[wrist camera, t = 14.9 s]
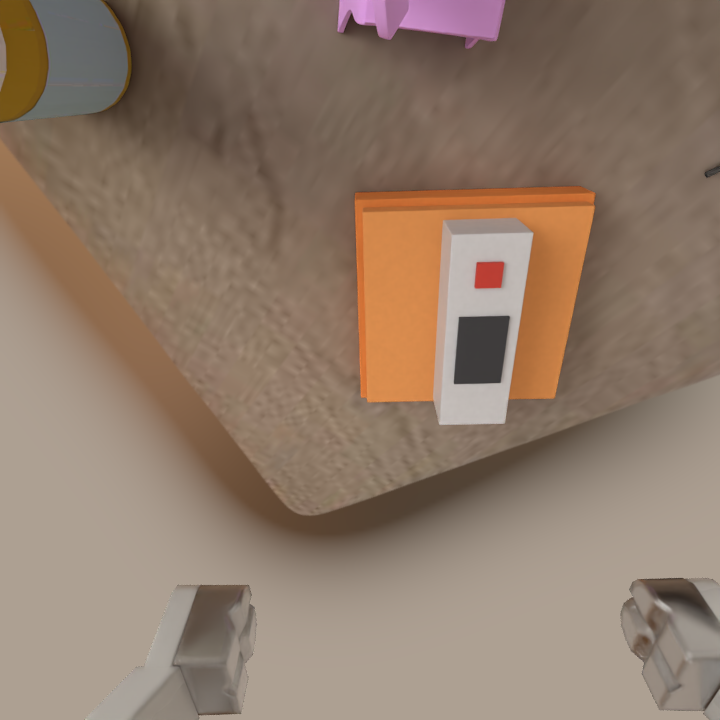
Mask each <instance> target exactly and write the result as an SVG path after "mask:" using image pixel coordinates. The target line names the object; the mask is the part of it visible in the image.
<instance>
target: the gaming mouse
mask: <svg viewBox="0 0 720 720" xmlns="http://www.w3.org/2000/svg"><path fill="white" fill-rule="evenodd" d="M718 172H720V166H719V167H716V168H714V169H712V170H710V171H708V172H705V176H706V177H709V176H712V175H714V174H716V173H718Z"/></svg>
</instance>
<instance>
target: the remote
mask: <svg viewBox="0 0 720 720" xmlns="http://www.w3.org/2000/svg"><path fill="white" fill-rule="evenodd" d="M532 240H533V232H532V231H531V230H530V229H529V228H528V227H526V226H525V225H524V224H523V223H522V222H520V221H519V220H518V219H517V218H496V219H462V220H443V227H442V244H441V262H440V280H439V298H438V316H437V334H436V352H435V370H434V388H433V400H434V404H435V408H436V413H437V417H438V421H439V425H460V424H504V423H505V418H506V412H507V405H508V398H509V392H510V385H511V379H512V372H513V365H514V359H515V352H516V346H517V339H518V332H519V326H520V319H521V313H522V306H523V299H524V293H525V286H526V280H527V273H528V266H529V260H530V253H531V247H532Z"/></svg>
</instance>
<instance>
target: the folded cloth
mask: <svg viewBox="0 0 720 720" xmlns="http://www.w3.org/2000/svg"><path fill="white" fill-rule="evenodd" d="M595 195H596V194H595V193H594V192H592V191H590V190H587V189H585V188H583V187H581V186H567V187H532V188H496V189H461V190H426V191H391V192H356V193H355V224H356V255H357V286H358V317H359V348H360V379H361V397H362V398H367V402H406V401H434V400H433V388H434V370H435V352H436V334H437V316H438V298H439V280H440V262H441V244H442V227H443V220H462V219H496V218H517V219H518V220H519V221H520V222H522V223H523V224H524V225H525V226H526V227H528V228H529V229H530V230H531V231H532V232H533V240H532V247H531V253H530V260H529V266H528V273H527V280H526V286H525V293H524V299H523V306H522V313H521V319H520V326H519V332H518V339H517V346H516V352H515V359H514V365H513V372H512V379H511V385H510V392H509V398H508V399H547V398H555V394H556V390H557V385H558V380H559V376H560V371H561V366H562V361H563V357H564V352H565V347H566V343H567V338H568V333H569V329H570V324H571V319H572V315H573V310H574V305H575V300H576V296H577V291H578V286H579V282H580V277H581V272H582V268H583V263H584V258H585V253H586V249H587V244H588V239H589V235H590V230H591V225H592V221H593V216H594V211H595V205H593V204H594V200H595Z"/></svg>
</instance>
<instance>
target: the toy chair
mask: <svg viewBox="0 0 720 720" xmlns="http://www.w3.org/2000/svg"><path fill="white" fill-rule="evenodd" d="M504 5H505V0H340V3H339V18H338V32H341V33H343V32H344V30H345V27H346V24H347V22H348V19H349V17H350V15H351V13H352V14H353V17H354V20H355V21H356V23H358V24H361V25H370V26H377V31H378V35H379V37H381V38H384V39H388V40H391V38H392V37H393V36H394V34H395V32H396V31H397V29H407V30H416V31H424V32H432V33H440V34H447V35H454V36H461V37H466V42H465V48H468V49H470V48H471V47H472V46H473V45H474V44H475V43H476V42H477V41H478V40H479V39H482V40H487V41H496V40H497V38H498V34H499V29H500V24H501V19H502V15H503V10H504Z"/></svg>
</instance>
